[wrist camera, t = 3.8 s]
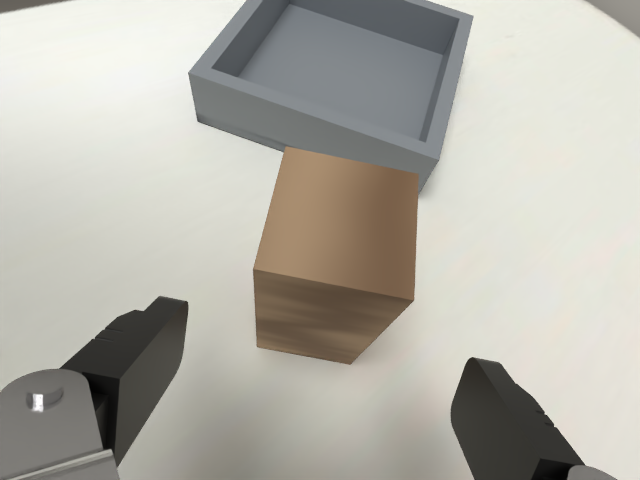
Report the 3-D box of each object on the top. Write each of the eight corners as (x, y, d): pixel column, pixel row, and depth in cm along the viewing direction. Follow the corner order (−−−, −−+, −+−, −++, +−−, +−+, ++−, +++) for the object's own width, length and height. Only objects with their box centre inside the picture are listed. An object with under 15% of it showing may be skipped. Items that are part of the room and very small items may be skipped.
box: (197, 121, 27) (188, 72, 24) (282, 3, 35) (284, -47, 32) (415, 198, 26) (438, 160, 23) (452, 60, 34) (473, 15, 31)
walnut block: (257, 347, 20) (252, 268, 12) (276, 262, 23) (285, 146, 14) (350, 364, 21) (414, 300, 12) (359, 278, 23) (418, 173, 14)
